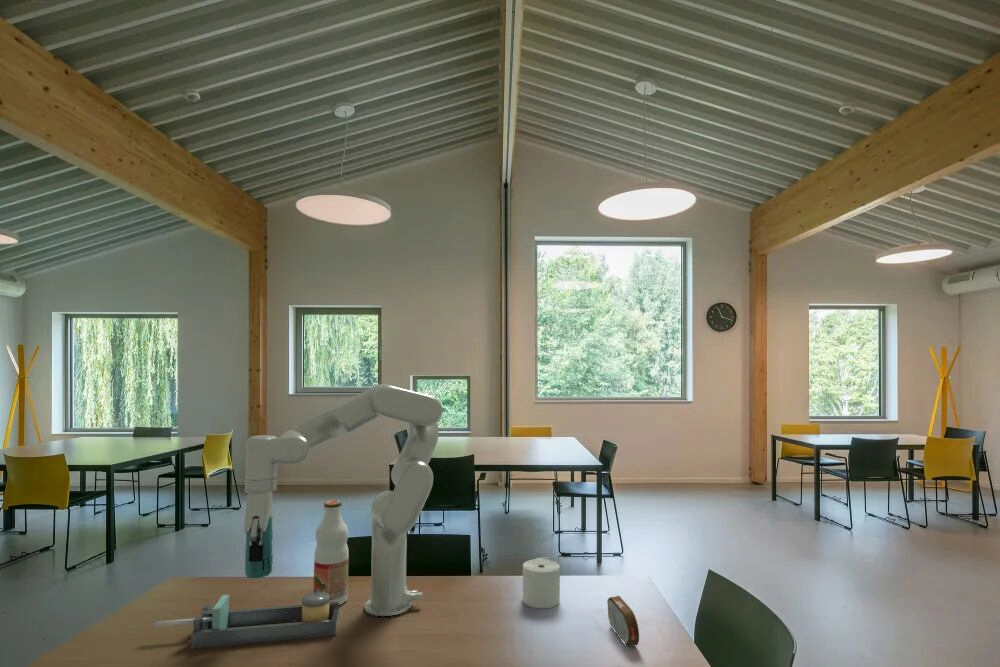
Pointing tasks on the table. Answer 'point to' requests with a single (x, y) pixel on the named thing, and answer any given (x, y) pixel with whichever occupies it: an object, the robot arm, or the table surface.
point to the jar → (315, 606)
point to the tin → (623, 620)
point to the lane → (261, 626)
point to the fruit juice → (332, 554)
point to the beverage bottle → (265, 565)
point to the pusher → (217, 619)
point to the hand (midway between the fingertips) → (258, 556)
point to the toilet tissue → (541, 583)
